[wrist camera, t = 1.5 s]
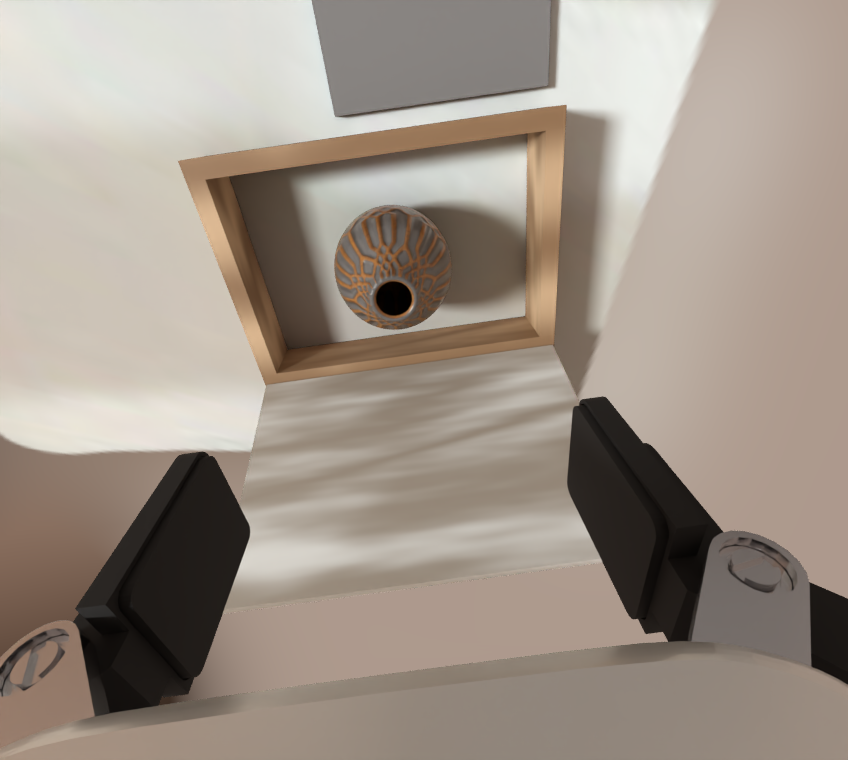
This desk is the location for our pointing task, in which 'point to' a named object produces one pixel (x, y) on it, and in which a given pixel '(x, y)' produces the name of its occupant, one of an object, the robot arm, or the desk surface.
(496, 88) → the mat
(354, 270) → the vase
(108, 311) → the desk surface
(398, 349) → the frame
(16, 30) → the desk surface
